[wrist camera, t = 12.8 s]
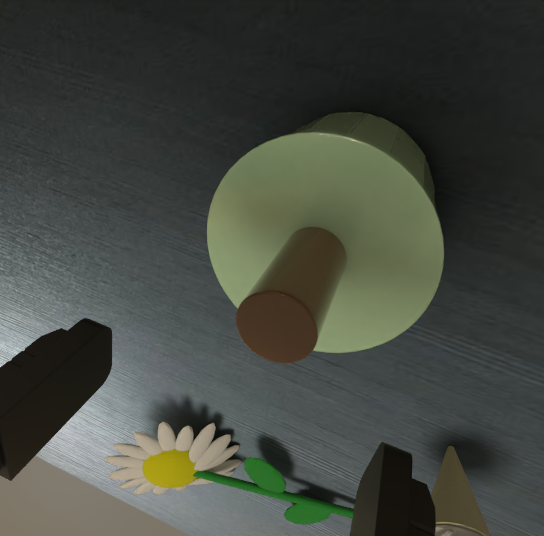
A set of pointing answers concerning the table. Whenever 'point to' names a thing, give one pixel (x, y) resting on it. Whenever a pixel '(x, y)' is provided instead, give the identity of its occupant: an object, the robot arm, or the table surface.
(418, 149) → the tin
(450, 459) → the ice cream cone
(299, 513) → the decorative flower
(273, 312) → the lid
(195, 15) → the table surface
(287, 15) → the table surface
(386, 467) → the robot arm
